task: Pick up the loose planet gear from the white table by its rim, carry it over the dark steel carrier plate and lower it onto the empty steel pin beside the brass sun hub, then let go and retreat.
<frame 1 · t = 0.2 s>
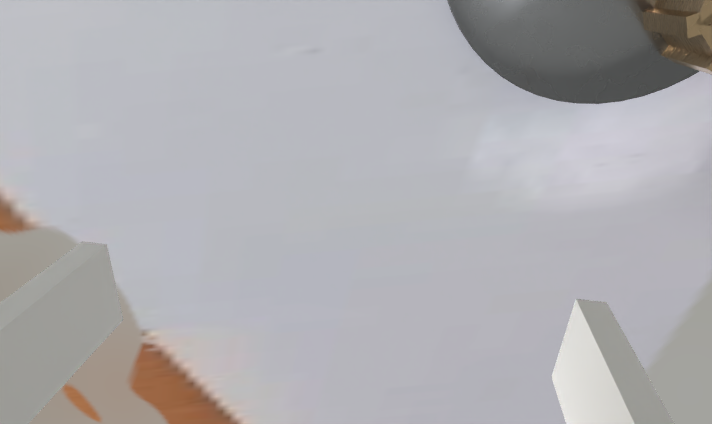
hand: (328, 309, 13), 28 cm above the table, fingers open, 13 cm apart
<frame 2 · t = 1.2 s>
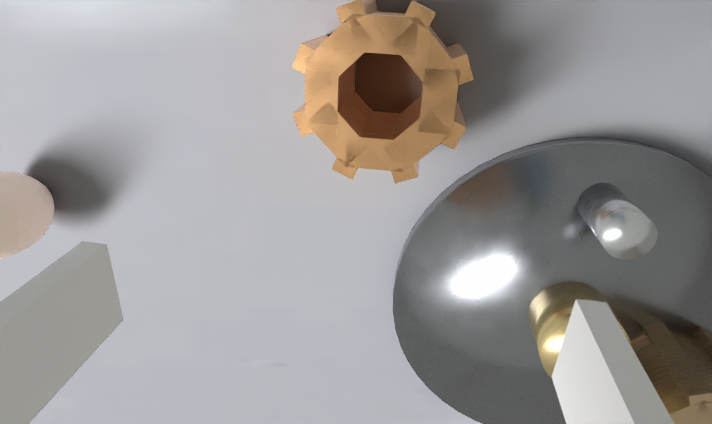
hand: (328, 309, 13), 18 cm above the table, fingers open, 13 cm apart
carrier: (561, 300, 32), on the table
planet gear: (388, 78, 28), on the table
egg: (42, 193, 35), on the table
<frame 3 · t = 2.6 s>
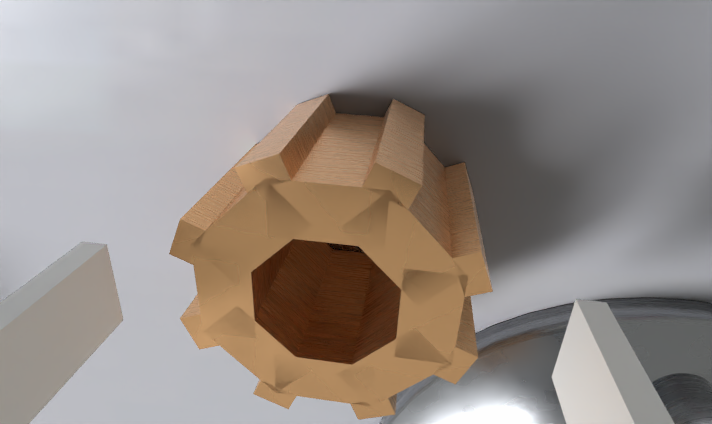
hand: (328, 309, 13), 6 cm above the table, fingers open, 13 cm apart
planet gear: (355, 207, 18), on the table
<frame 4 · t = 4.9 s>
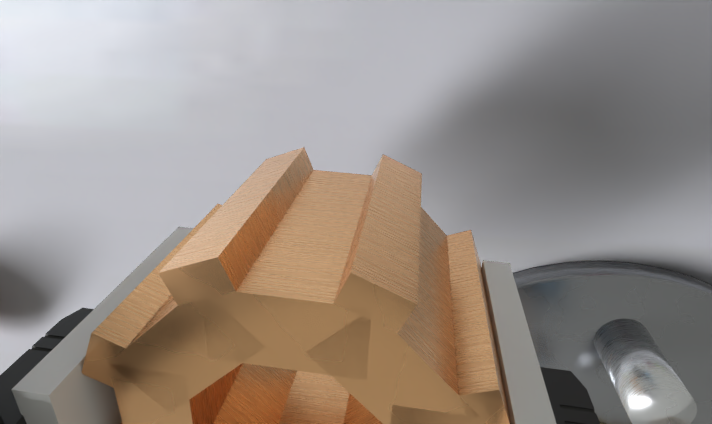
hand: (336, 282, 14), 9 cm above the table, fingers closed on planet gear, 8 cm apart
planet gear: (338, 279, 15), point 9 cm above the table, touching gripper
when the fingers open (2 cm above the table, at t = 8.6 s): planet gear stays where it is, resting on carrier.
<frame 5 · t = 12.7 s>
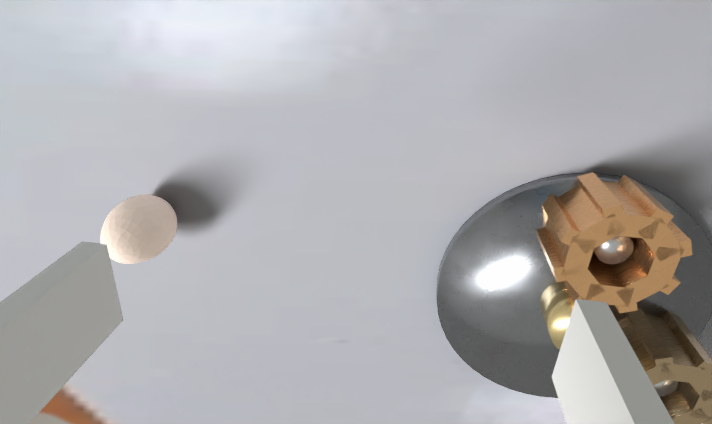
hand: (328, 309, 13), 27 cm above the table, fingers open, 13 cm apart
carrier: (565, 291, 42), on the table
planet gear: (593, 222, 38), point 1 cm above the table, touching carrier
egg: (163, 209, 45), on the table
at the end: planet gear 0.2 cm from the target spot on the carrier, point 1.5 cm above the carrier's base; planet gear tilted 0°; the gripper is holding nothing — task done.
